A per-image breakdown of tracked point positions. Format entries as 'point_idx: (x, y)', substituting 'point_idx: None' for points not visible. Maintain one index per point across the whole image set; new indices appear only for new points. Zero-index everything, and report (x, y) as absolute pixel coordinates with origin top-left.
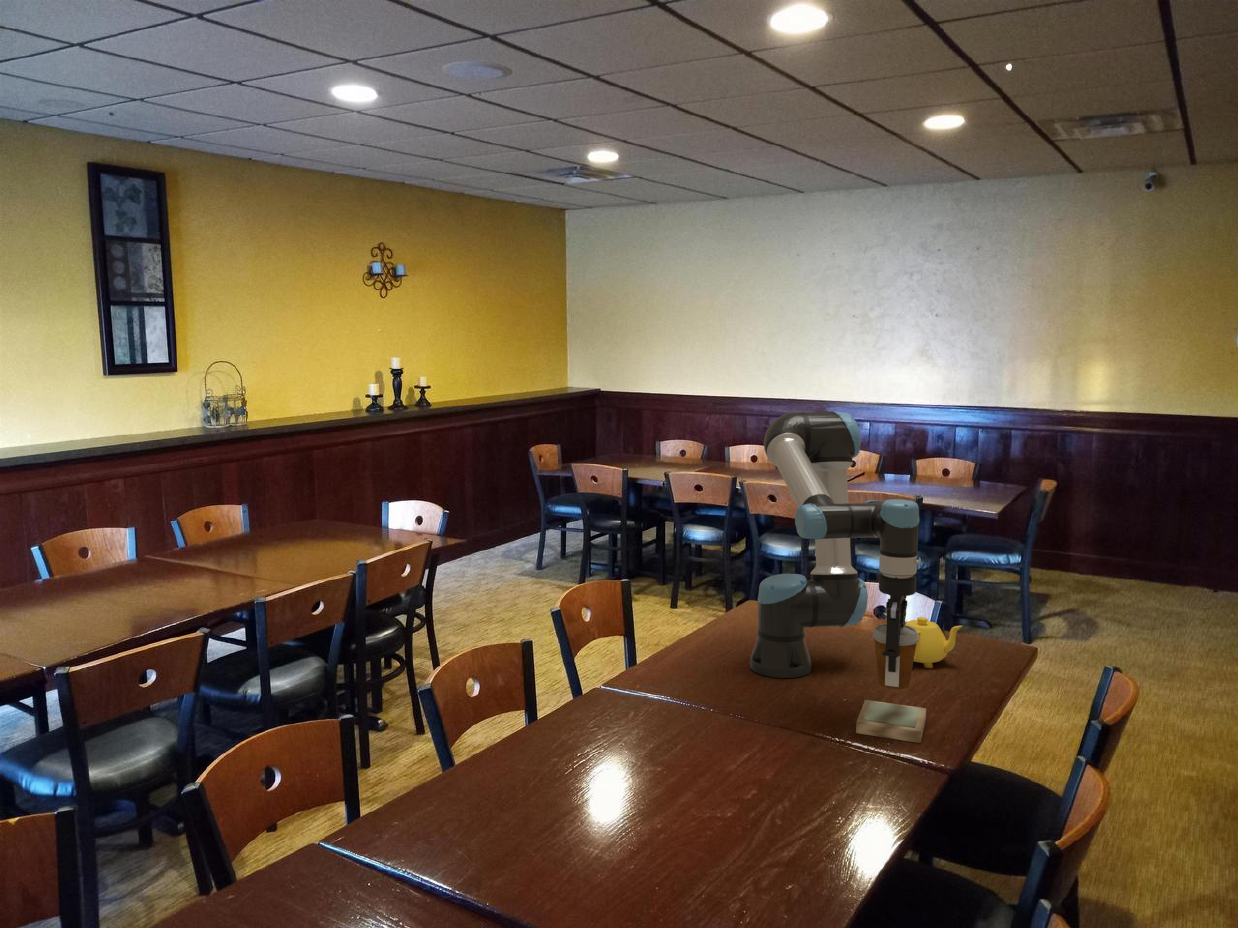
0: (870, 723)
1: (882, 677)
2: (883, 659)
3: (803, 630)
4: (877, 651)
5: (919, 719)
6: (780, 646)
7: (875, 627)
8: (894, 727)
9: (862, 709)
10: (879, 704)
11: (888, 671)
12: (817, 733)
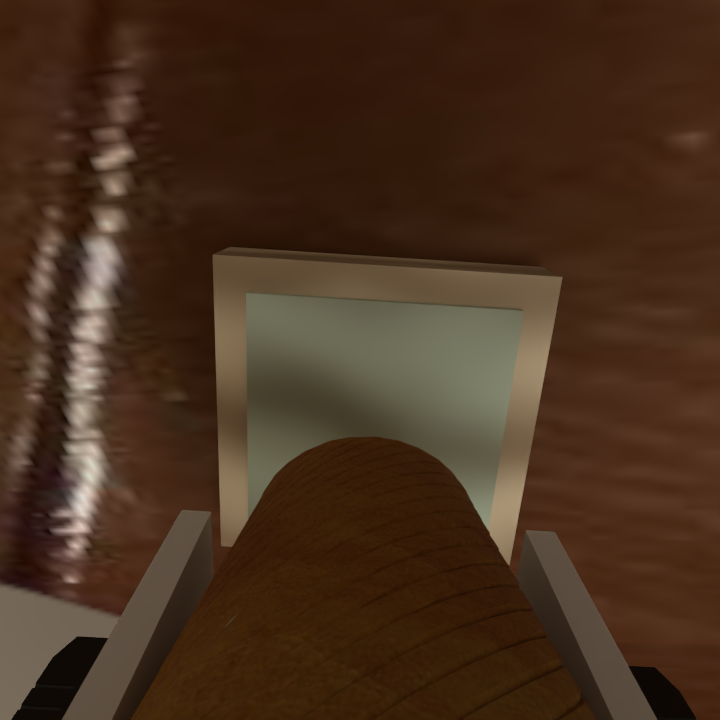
0: (219, 328)
1: (259, 508)
2: (165, 665)
3: None
4: (211, 668)
5: None
6: None
7: None
8: (218, 440)
9: (401, 273)
10: (486, 361)
11: (79, 638)
12: (137, 37)
